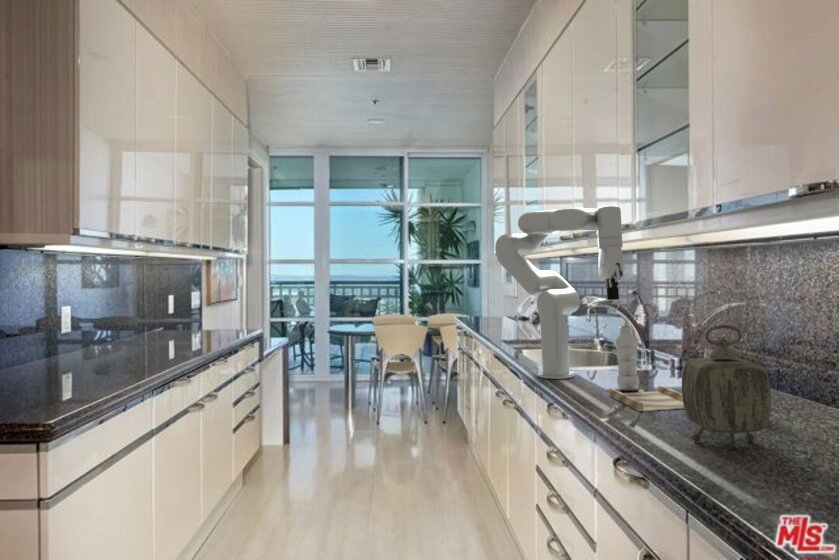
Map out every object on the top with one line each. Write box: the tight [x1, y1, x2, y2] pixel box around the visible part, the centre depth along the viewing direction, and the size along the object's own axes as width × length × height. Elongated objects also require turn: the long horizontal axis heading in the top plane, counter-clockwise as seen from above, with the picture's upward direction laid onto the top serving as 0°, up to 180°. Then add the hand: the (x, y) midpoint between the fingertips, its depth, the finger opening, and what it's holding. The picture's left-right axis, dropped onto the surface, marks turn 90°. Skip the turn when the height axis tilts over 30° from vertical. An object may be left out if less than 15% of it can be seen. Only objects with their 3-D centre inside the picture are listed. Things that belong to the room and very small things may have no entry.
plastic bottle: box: [615, 325, 640, 392], centre depth 165 cm, size 6×7×20 cm
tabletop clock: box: [681, 324, 772, 450], centre depth 110 cm, size 14×9×25 cm, turn 83°
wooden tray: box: [608, 384, 685, 412], centre depth 150 cm, size 20×16×2 cm
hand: (613, 299), depth 174 cm, fingers closed
